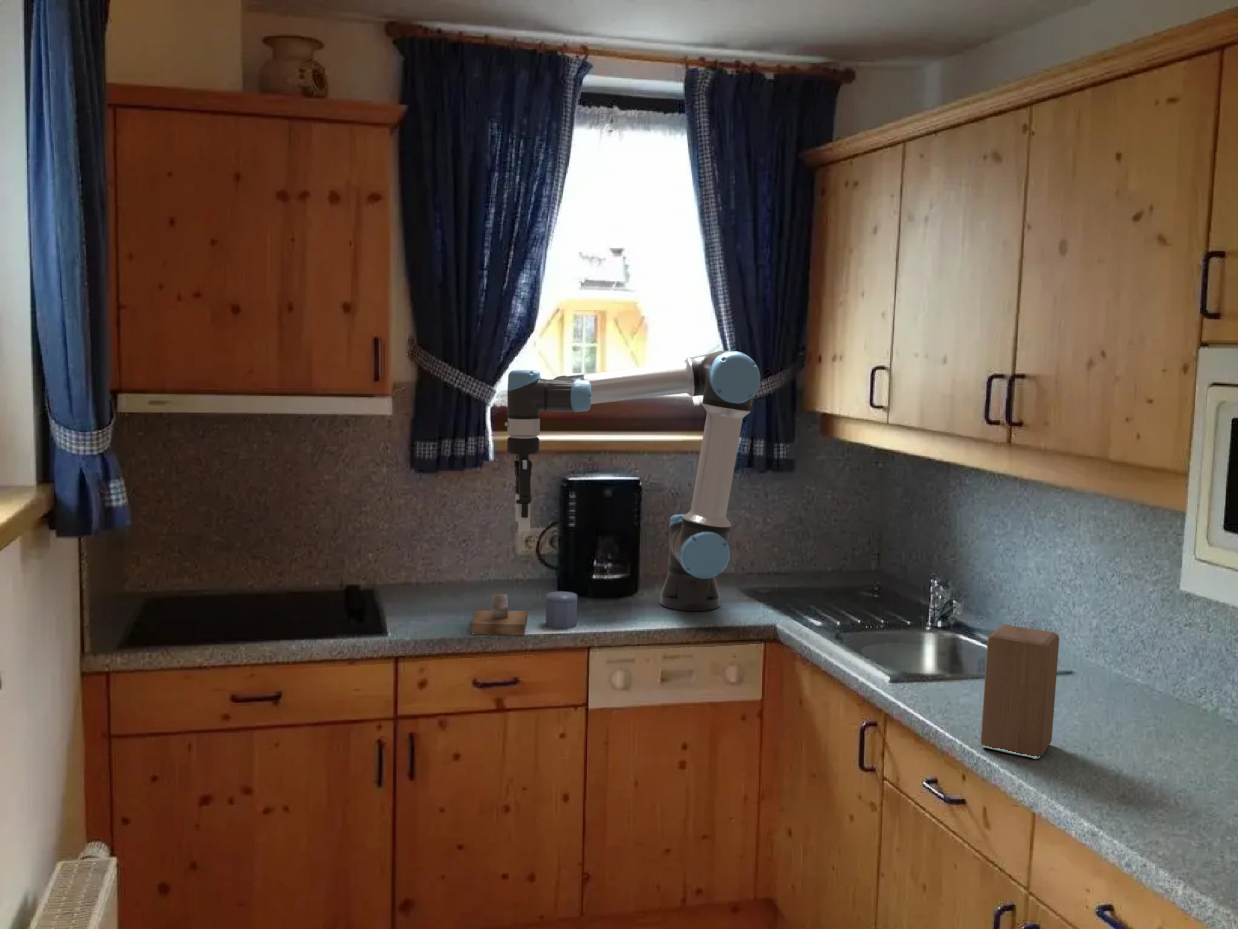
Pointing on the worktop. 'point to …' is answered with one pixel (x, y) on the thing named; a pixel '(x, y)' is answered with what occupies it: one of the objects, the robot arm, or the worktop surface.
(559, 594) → the cap
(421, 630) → the worktop surface
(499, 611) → the stud block
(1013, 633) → the wooden block
